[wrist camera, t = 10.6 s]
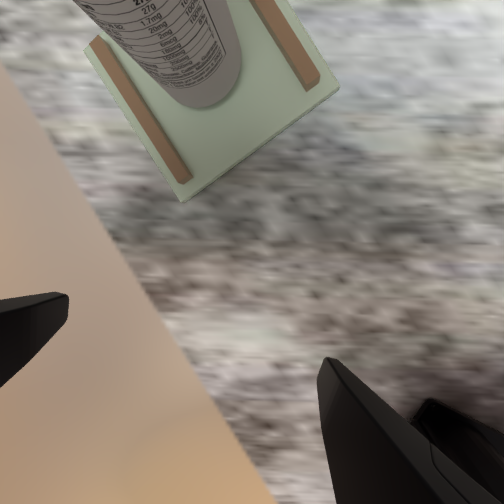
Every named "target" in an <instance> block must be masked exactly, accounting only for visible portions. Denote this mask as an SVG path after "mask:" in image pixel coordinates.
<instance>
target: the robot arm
mask: <svg viewBox="0 0 504 504" xmlns="http://www.w3.org/2000/svg"><path fill="white" fill-rule="evenodd" d="M68 308H69V297H68V295H66V294H63V293H59V292H50V293H43V294H36V295H29V296H23V297H16V298H9V299H3V300H0V387H2V386H3V385H4V384H5V383H6V382H7V381H8V380H9V379H10V378H12V377H13V376H14V375H15V374H16V373H17V372H18V371H19V370H21V369H22V367H24V366H25V365H26V364H27V363H28V362H29V361H30V360H31V359H32V358H33V357H34V356H35V355H36V354H37V353H38V352H39V351H40V350H41V348H42V347H43V346H44V345H45V344H46V343H47V342H48V341H49V340H50V339H51V338H52V337H53V336H54V334H55V333H56V332H57V331H58V330H59V329H60V328H61V327H62V326H63V325H64V323H65V322H66V320H67V317H68ZM317 391H318V401H319V411H320V421H321V429H322V434H323V440H324V445H325V449H326V454H327V459H328V464H329V469H330V474H331V479H332V484H333V489H334V494H335V499H336V504H504V434H502V433H500V432H498V431H496V430H494V429H492V428H490V427H488V426H487V425H485V424H483V423H481V422H479V421H477V420H475V419H473V418H471V417H469V416H467V415H465V414H463V413H461V412H459V411H457V410H455V409H453V408H451V407H449V406H447V405H445V404H443V403H441V402H440V401H438V400H436V399H427V400H426V401H425V403H424V404H423V406H422V407H421V408H420V410H419V411H418V413H417V414H416V416H415V417H414V418H413V420H412V421H411V422H410V424H409V423H408V422H407V421H406V420H405V419H404V418H403V417H401V416H400V415H399V414H398V413H397V412H396V411H395V410H394V409H392V408H391V407H390V406H389V405H388V404H387V403H386V402H385V401H383V400H382V399H381V398H380V397H379V396H378V395H377V394H376V393H375V392H373V391H372V390H371V389H370V388H369V387H368V386H367V385H366V384H364V383H363V382H362V381H361V380H360V379H359V378H358V377H357V376H355V375H354V374H353V373H352V372H351V371H350V370H349V369H348V368H347V367H345V366H344V365H343V364H342V363H341V362H340V361H339V360H337V359H334V358H330V357H326V358H325V359H324V360H323V363H322V365H321V368H320V371H319V374H318V376H317ZM433 405H435V407H433V408H431V406H433Z"/></svg>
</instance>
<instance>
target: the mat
mask: <svg viewBox="0 0 504 504" xmlns="http://www.w3.org/2000/svg"><path fill="white" fill-rule="evenodd" d="M226 1H227V4H228V7H229V11H230V14H231V17H232V20H233V23H234V26H235V30H236V33H237V36H238V39H239V43H240V47H241V67H240V71H239V74H238V78H237V80H236V82H235V84H234V86H233V87H232V88H231V90H230V91H229V92H228V94H227V95H225V96H224V97H223V98H222V99H221V100H219V101H218V102H216V103H215V104H212V105H210V106H207V107H201V108H194V107H188V106H185V105H182V104H181V103H179V102H177V101H176V100H174V99H173V98H172V97H171V96H170V95H169V94H168V93H167V92H166V91H165V90H164V89H163V88H162V87H161V86H160V85H159V84H158V83H157V82H156V81H155V80H154V79H153V78H152V77H151V76H150V75H149V74H148V73H147V72H146V71H144V70H143V69H142V68H141V67H140V66H139V65H138V64H137V63H136V62H135V61H134V60H133V59H132V58H131V57H130V56H129V55H128V54H127V53H126V52H125V51H124V50H123V49H122V48H121V47H120V46H119V45H118V44H117V43H116V42H115V41H114V40H113V39H112V38H111V37H110V36H109V35H108V34H107V33H106V32H105V31H104V30H103V31H102V32H101V33H100V34H99V35H98V36H97V37H96V38H95V39H94V40H93V41H92V42H91V43H90V44H89V45H88V46H87V47H86V48H85V49H84V50H83V51H84V53H85V54H86V56H87V58H88V59H89V61H90V62H91V64H92V65H93V67H94V68H95V70H96V72H97V73H98V75H99V76H100V78H101V79H102V81H103V82H104V84H105V86H106V87H107V89H108V90H109V92H110V93H111V95H112V96H113V98H114V100H115V101H116V103H117V104H118V106H119V107H120V109H121V110H122V112H123V114H124V115H125V117H126V118H127V120H128V121H129V123H130V124H131V126H132V128H133V129H134V131H135V132H136V134H137V135H138V137H139V138H140V140H141V142H142V143H143V145H144V146H145V148H146V149H147V151H148V152H149V154H150V156H151V157H152V159H153V160H154V162H155V163H156V165H157V166H158V168H159V170H160V171H161V173H162V174H163V176H164V177H165V179H166V180H167V182H168V184H169V185H170V187H171V188H172V190H173V191H174V193H175V194H176V196H177V198H178V199H179V201H180V202H181V203H185V202H186V201H188V200H189V199H190V198H192V197H193V196H195V195H196V194H197V193H199V192H200V191H201V190H203V189H204V188H205V187H207V186H208V185H210V184H211V183H212V182H214V181H215V180H216V179H218V178H219V177H221V176H222V175H223V174H225V173H226V172H227V171H229V170H230V169H231V168H233V167H234V166H236V165H237V164H238V163H240V162H241V161H242V160H244V159H245V158H247V157H248V156H249V155H251V154H252V153H253V152H255V151H256V150H257V149H259V148H260V147H262V146H263V145H264V144H266V143H267V142H268V141H270V140H271V139H273V138H274V137H275V136H277V135H278V134H279V133H281V132H282V131H283V130H285V129H286V128H288V127H289V126H290V125H292V124H293V123H294V122H296V121H297V120H298V119H300V118H301V117H303V116H304V115H305V114H307V113H308V112H309V111H311V110H312V109H314V108H315V107H316V106H318V105H319V104H320V103H322V102H323V101H324V100H326V99H327V98H329V97H330V96H331V95H333V94H334V93H335V92H337V91H338V90H339V88H340V85H339V83H338V82H337V80H336V78H335V77H334V75H333V74H332V72H331V70H330V69H329V67H328V65H327V64H326V62H325V61H324V59H323V57H322V56H321V54H320V53H319V51H318V49H317V48H316V46H315V45H314V43H313V41H312V40H311V38H310V37H309V35H308V33H307V32H306V30H305V29H304V27H303V25H302V24H301V22H300V21H299V19H298V17H297V16H296V14H295V12H294V11H293V9H292V8H291V6H290V4H289V3H288V1H287V0H226Z"/></svg>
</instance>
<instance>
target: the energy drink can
mask: <svg viewBox="0 0 504 504" xmlns="http://www.w3.org/2000/svg"><path fill="white" fill-rule="evenodd" d="M73 1H74V2H75V3H76V4H77V5H78V6H79V7H80V8H81V9H82V10H83V11H84V12H85V13H86V14H87V15H88V16H89V17H90V18H91V19H92V20H93V21H94V22H95V23H96V24H97V25H98V26H99V27H100V28H102V29H103V30H104V31H105V32H106V33H107V34H108V35H109V36H110V37H111V38H112V39H113V40H114V41H115V42H116V43H117V44H118V45H119V46H120V47H121V48H122V49H123V50H124V51H125V52H126V53H127V54H128V55H129V56H130V57H131V58H132V59H133V60H134V61H135V62H136V63H137V64H138V65H139V66H140V67H141V68H142V69H143V70H144V71H146V72H147V73H148V74H149V75H150V76H151V77H152V78H153V79H154V80H155V81H156V82H157V83H158V84H159V85H160V86H161V87H162V88H163V89H164V90H165V91H166V92H167V93H168V94H169V95H170V96H171V97H172V98H173V99H174V100H176V101H177V102H179V103H181V104H182V105H185V106H188V107H194V108H201V107H207V106H210V105H212V104H215V103H216V102H218V101H219V100H221V99H222V98H223V97H224V96H225V95H227V94H228V92H229V91H230V90H231V88H232V87H233V86H234V84H235V82H236V80H237V78H238V74H239V71H240V67H241V47H240V43H239V39H238V36H237V33H236V30H235V26H234V23H233V20H232V17H231V14H230V11H229V7H228V4H227V1H226V0H73Z"/></svg>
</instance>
